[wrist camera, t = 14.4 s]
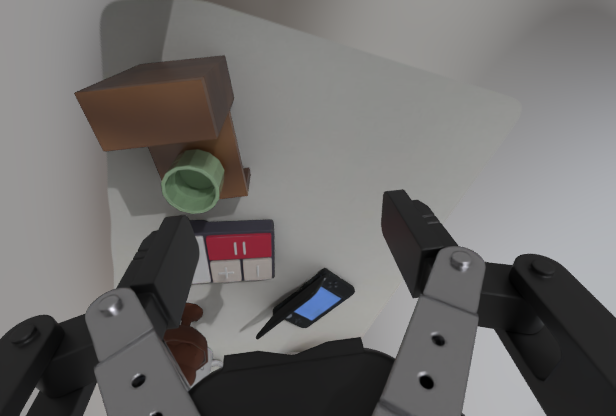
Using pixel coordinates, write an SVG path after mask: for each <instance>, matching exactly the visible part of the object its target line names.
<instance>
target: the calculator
mask: <svg viewBox="0 0 616 416" xmlns="http://www.w3.org/2000/svg"><path fill="white" fill-rule="evenodd" d="M190 224H191V226H192V229H193V232H194V234H195V237H196V239H197V242H198V245H199V251H200V255H199V261H198V264H197V267H196V271H195V274H194V277H193V281H192V284H199V283H223V282H237V281H243V280H245V281H252V280H266V279H272V278H274V277H275V264H274V223H273V220H248V221H223V222H207V221H204V220H191V221H190Z"/></svg>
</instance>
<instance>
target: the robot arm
mask: <svg viewBox="0 0 616 416" xmlns="http://www.w3.org/2000/svg"><path fill="white" fill-rule="evenodd" d="M381 227H382V233H383V236H384V238H385V240H386V242H387V244H388V247H389V249H390V251H391V253H392V255H393V257H394V259H395V261H396V263H397V266H398V268H399V270H400V272H401V274H402V276H403V278H404V280H405V282H406V284H407V287H408V289H409V291H410V293H411V295H412V297H413V298H419V299H418V301H417V304H416V307H415V309H414V312H413V314H412V317H411V320H410V322H409V325H408V327H407V330H406V333H405V335H404V338H403V340H402V343H401V346H400V348H399V351H398V354H397V356H396V359H395V358H393V357H391V356H389V355H387V354H385V353H383V352H380V351H377V350H373V349H369V348H363V344H362V340H361V337H358V338H350V339H343V340H335V341H328V342H325V343H323V344H320V345H318V346H315V347H313V348H310V349H308V350H305V351H303V352H300V353H298V354H295V355H287V354H279V353H271V352H263V351H254V352H246V353H239V354H231V355H224V361H223V367H222V368H220V369H217V370H215V371H214V372H212V373H210V374H208V375H207V376H205V377H204V378H202V379H201V380H200V381H199V382H198V383H196V384H195V385H194V386H193V387H192V388H191V386H190V385H189V383H188V381H187V380H186V378H185V376H184V374H183V372H182V371H181V369H180V367H179V365H178V364H177V362H176V360H175V358H174V356H173V355H172V353H171V351H170V349H169V347H168V346H167V344H166V342H165V340H164V339H163V337H164V334H165V331H166V330H168V329H175V328H179V324H180V321H181V318H182V314H183V311H184V308H185V304H186V301H187V298H188V294H189V291H190V287H191V284H192V281H193V277H194V274H195V271H196V267H197V264H198V261H199V255H200V251H199V245H198V242H197V239H196V237H195V234H194V232H193V229H192V226H191V224H190V221H189V219H188V217H187V216H186V215H180V216H172V217H166V218H164V220H163V222H162V224H161V226H160V228H159V230H158V231H153V232H152V233H151V234H150V235H149V236H147V237H146V238H145V239H144V240H143V242H142V243H141V245H140V247H139V249H138V252H136V254H135V256H134V258H133V260H132V261H131V263H130V265H129V267H128V268H127V270H126V272H125V274H124V276H123V277H122V279H121V281H120V283H119V285H118V286H117V288H116V289H113V290H111V291H108V292H106V293H104V294H103V295H101V296H100V297H98V298H97V299H96V300H95V301H94V302H93V303H92V304H91V305H90V306H89V307H88V309H87V311H86V314H83V315H80V316H78V317H75V318H72V319H69V320H67V321H64V322H61V323H57V322H56V321H55V319H54V318H53V317H51V316H49V315H39V316H35V317H32V318H29V319H27V320H25V321H23V322H21V323H19V324H18V325H16V326H15V327H13V328H12V329H11V330H9V331H8V332H7V333H6V334H5V335H4V336H3V337H2V338H1V339H0V416H20V413H21V411H22V409H23V408H24V406H25V404H26V402H27V401H28V399H29V397H30V395H31V394H32V392H33V390H34V388H35V387H36V388H37V389H39V390H40V391H39V393H38V395H37V397H36V399H35V400H34V402H33V404H32V406H31V408H30V409H29V411H28V413H27V415H26V416H83V414H84V412H85V409H86V407H87V405H88V402H89V400H90V397H91V395H92V393H93V390H94V388H95V385H96V383H98V386H99V389H100V393H101V395H102V399H103V403H104V406H105V409H106V413H107V416H465V415H464V414H463V413H462V409H463V403H464V398H465V392H466V387H467V381H468V376H469V370H470V365H471V359H472V354H473V348H474V343H475V337H476V332H477V326H480V327H486V328H492V329H494V330H495V331H496V333H497V335H498V336H499V338H500V340H501V341H502V343H503V345H504V346H505V348H506V349H507V351H508V353H509V354H510V356H511V358H512V359H513V361H514V363H515V364H516V366H517V367H518V369H519V371H520V373H521V374H522V376H523V377H524V379H525V381H526V382H527V384H528V386H529V387H530V389H531V390H532V392H533V394H534V396H535V397H536V399H537V401H538V402H539V404H540V405H541V407H542V409H543V410H544V412H545V414H546V415H547V416H616V318H615V317H614V316H613V315H612V314H611V313H610V312H609V311H608V310H607V309H606V308H605V307H604V306H603V305H602V304H601V303H600V302H599V301H598V300H597V299H596V298H595V297H594V296H593V295H592V294H591V293H590V292H589V291H588V290H587V289H586V288H585V287H584V286H583V285H582V284H581V283H580V282H579V281H578V280H577V279H576V278H575V277H574V276H573V275H572V274H571V273H570V272H569V271H568V270H567V269H566V268H564V267H563V266H562V265H561V264H559V263H558V262H556V261H554V260H552V259H550V258H548V257H545V256H541V255H537V254H523V255H520V256H518V257H517V258H516V259H515V261H514V264H513V265H506V264H497V263H489V262H484V260H483V259H482V258H481V257H480V256H479V255H478V254H477V253H476V252H474V251H472V250H470V249H467V248H464V247H460V246H458V245H457V243H456V242H455V241H454V239H453V238H452V237H451V235H450V234H449V233H448V232H447V230H446V229H445V228H444V227H443V225H442V224H441V223H440V221H439V220H438V218H437V217H436V216H434V213H433V212H432V211H431V209H430V208H429V207H428V206H427V205H425V204H424V203H422V202H420V201H419V200H411V199H410V197H409V196H408V195H407V193H406V192H405V190H403V189H402V190H394V191H386V192H384V194H383V204H382V218H381Z"/></svg>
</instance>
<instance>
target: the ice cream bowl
mask: <svg viewBox="0 0 616 416" xmlns="http://www.w3.org/2000/svg"><path fill="white" fill-rule="evenodd" d="M202 315H203V309H202V308H200V307H199V306H198V305H196V304H191V303H186V304H185V308H184V311H183V314H182V318H181V321H182V322H181V325H179V328H175V329H168V330H166V331H165V334H164V337H163V339H164V340H165V342H166V344H167V346H168V347H169V349H170V351H171V353H172V355H173V356H174V358H175V360H176V362H177V364H178V365H179V367H180V369H181V371H182V372H183V374H184V376H185V378H186V380H187V381H188V383H189V385H190V386H192V385H193V383H194V382H195V379H196V371H197V370H199V369H200V368H201V367H203V366H204V365H205V364H206V363H208V346H207V341H206V338H205V337H204V336H203V335H202V334H201V333H200V332H198V331H197V330H196V329H194V328H193V327H190V324H191V322H193V321H197V320H199V319H200V318H201V317H202Z"/></svg>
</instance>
